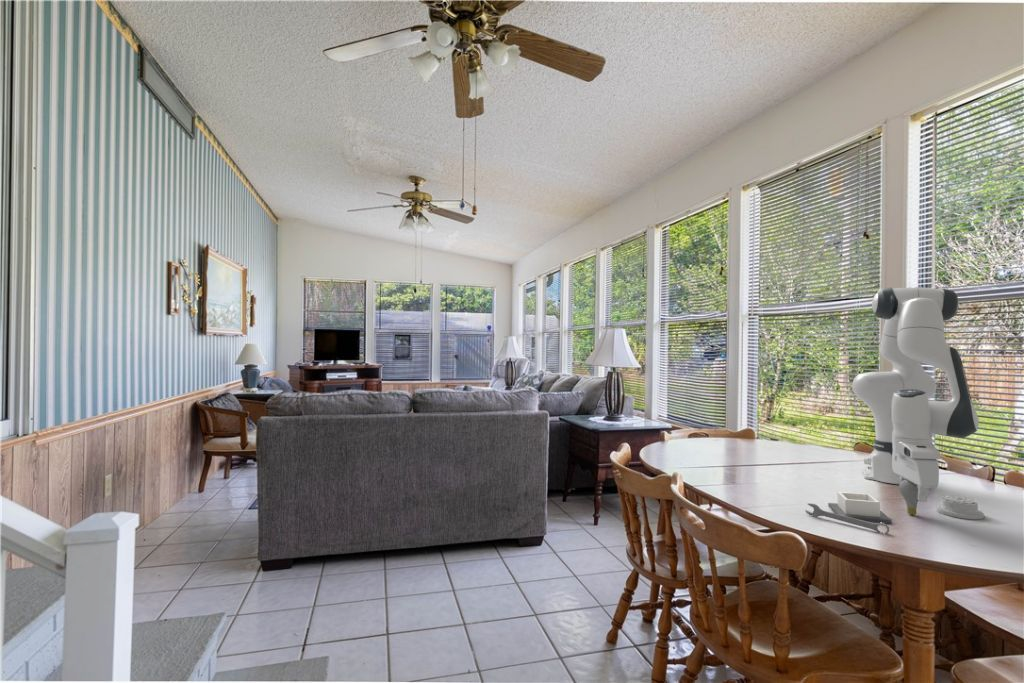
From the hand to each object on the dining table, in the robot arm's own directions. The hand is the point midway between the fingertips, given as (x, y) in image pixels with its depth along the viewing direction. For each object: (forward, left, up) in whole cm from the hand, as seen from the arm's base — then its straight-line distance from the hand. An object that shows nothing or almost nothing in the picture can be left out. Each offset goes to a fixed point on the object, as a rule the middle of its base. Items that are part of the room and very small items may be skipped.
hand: (914, 496), depth 138 cm
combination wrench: (+13, -20, -6) cm, 25 cm away
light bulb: (-1, -1, -6) cm, 6 cm away
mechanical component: (-6, +12, -6) cm, 15 cm away
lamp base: (+3, -15, -5) cm, 16 cm away
